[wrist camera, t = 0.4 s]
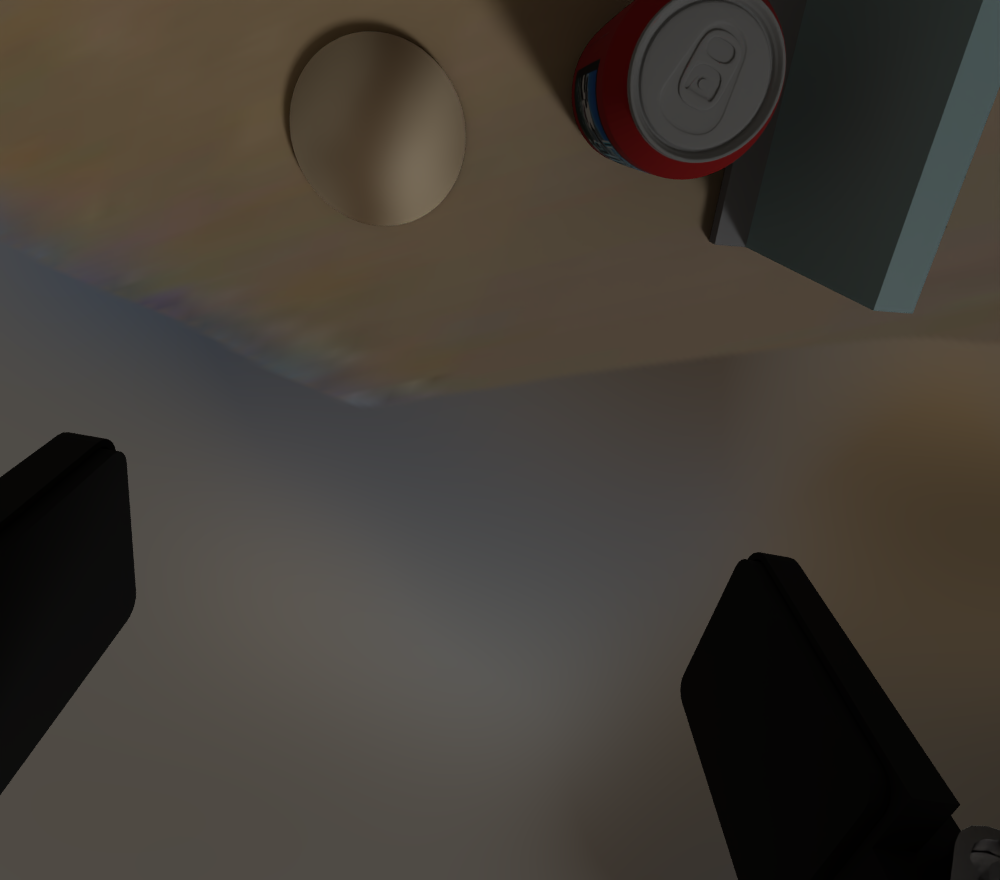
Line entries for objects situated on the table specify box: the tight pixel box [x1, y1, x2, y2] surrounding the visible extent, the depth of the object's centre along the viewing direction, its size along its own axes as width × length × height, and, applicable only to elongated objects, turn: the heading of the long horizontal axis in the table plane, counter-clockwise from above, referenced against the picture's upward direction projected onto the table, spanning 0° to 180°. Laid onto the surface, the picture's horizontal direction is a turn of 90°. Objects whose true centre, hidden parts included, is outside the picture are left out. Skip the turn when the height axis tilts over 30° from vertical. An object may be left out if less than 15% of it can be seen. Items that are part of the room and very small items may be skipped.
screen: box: [709, 0, 1000, 313], centre depth 26 cm, size 5×14×14 cm, turn 175°
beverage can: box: [572, 0, 786, 179], centre depth 27 cm, size 7×7×12 cm
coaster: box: [290, 31, 466, 226], centre depth 33 cm, size 9×9×1 cm
